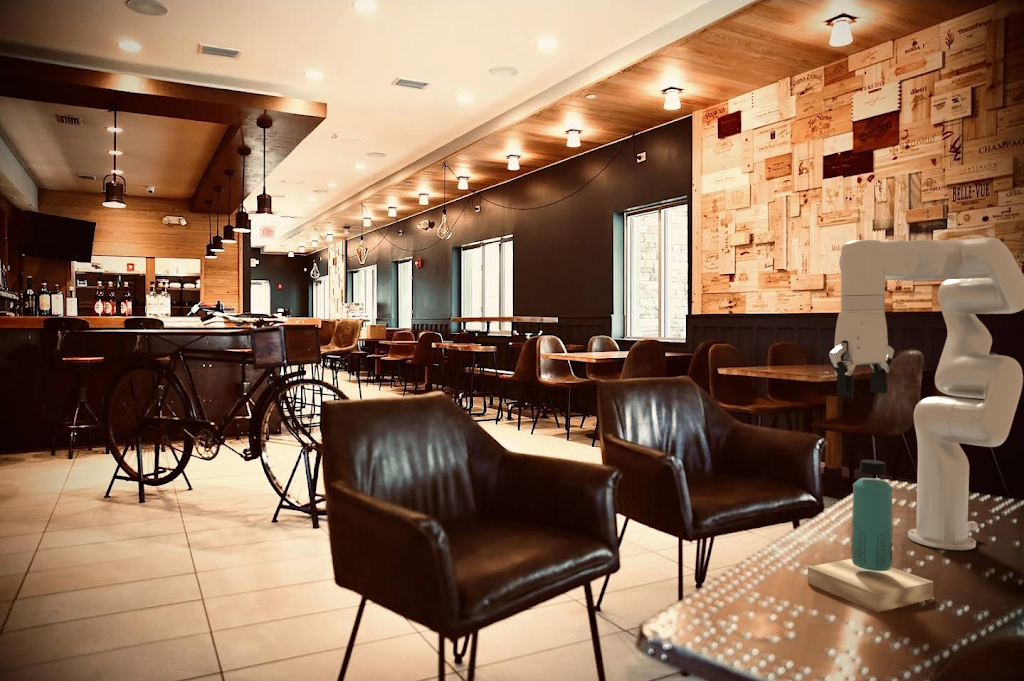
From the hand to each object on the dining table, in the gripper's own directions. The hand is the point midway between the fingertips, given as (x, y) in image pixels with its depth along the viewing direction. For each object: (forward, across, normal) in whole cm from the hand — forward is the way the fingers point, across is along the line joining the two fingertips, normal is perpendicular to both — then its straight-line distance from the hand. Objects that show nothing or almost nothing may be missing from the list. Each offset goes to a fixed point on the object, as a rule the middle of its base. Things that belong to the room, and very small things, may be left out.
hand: (862, 394), depth 134 cm
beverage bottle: (+30, +10, +9) cm, 33 cm away
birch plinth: (+33, +10, +9) cm, 36 cm away
